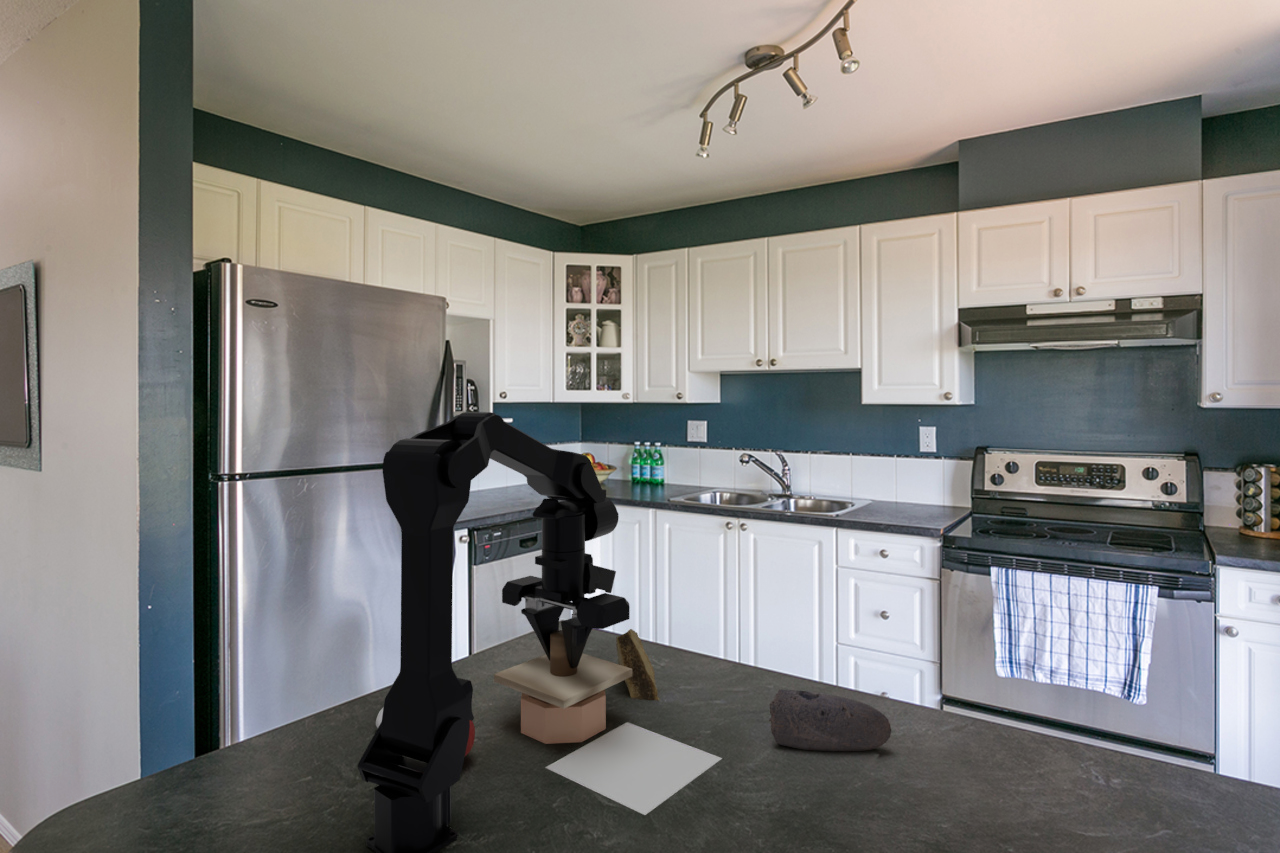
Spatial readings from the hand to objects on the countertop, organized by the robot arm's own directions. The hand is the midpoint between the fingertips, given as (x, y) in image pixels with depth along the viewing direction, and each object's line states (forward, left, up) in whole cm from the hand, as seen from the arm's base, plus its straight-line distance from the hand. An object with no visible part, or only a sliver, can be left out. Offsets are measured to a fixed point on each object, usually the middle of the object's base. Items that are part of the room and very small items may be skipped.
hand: (563, 664), depth 94 cm
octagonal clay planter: (0, 0, -8) cm, 9 cm away
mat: (-2, -14, -8) cm, 16 cm away
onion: (-16, +3, -9) cm, 18 cm away
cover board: (0, 0, -2) cm, 2 cm away
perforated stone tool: (+17, -30, -9) cm, 36 cm away
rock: (+16, 0, -9) cm, 18 cm away
